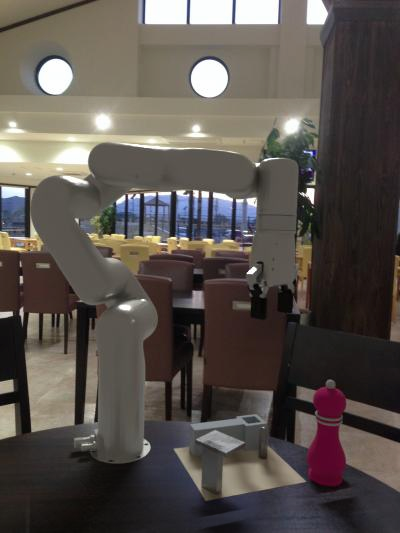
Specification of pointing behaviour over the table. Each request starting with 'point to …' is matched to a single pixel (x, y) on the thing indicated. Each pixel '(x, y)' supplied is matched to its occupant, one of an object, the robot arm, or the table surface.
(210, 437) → the block
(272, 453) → the base board
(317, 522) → the table surface
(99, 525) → the table surface
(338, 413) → the pepper mill
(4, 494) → the table surface
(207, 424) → the link
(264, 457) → the post
